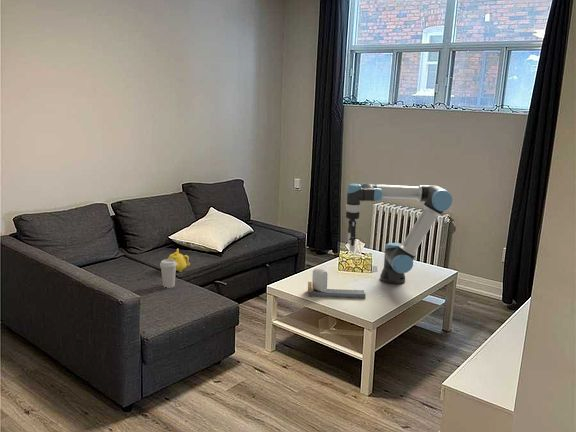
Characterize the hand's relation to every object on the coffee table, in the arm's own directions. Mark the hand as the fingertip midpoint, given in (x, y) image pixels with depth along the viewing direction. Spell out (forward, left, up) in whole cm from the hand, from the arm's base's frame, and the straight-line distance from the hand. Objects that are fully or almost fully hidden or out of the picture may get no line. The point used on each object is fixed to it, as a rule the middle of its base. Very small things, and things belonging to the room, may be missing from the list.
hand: (350, 247), depth 317 cm
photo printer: (+18, +11, -23) cm, 31 cm away
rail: (+8, +12, -25) cm, 28 cm away
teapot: (+105, -21, -25) cm, 110 cm away
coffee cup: (+104, +7, -25) cm, 107 cm away
